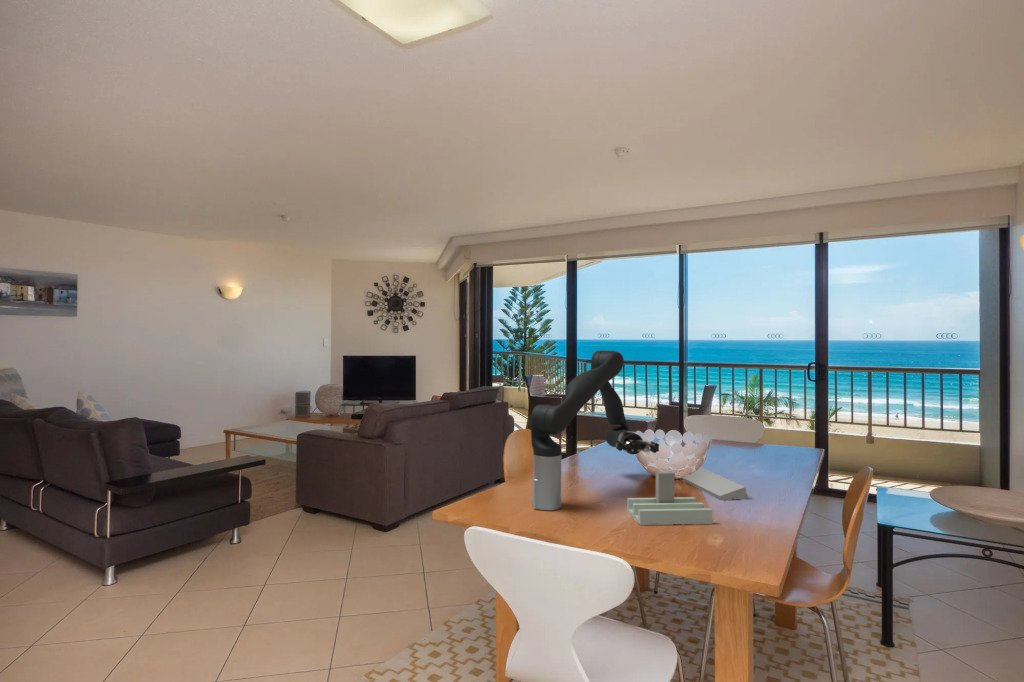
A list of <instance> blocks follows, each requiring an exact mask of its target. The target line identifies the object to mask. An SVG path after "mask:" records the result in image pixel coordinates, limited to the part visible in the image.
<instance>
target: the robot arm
mask: <svg viewBox="0 0 1024 682" xmlns="http://www.w3.org/2000/svg"><path fill="white" fill-rule="evenodd" d="M590 361H591V364H590V365H591V368H592V369H589V370H586V371H584V372H581V373H579V374H578V375H576V376H575V377H574V378H573V379H572V380H570V382H568V384H567V385H566V387H565V393H564V394H565V395H564V396H565V399H564V400H563V401H562V402H561V403H560V404H558V405H549V404H537V405H535V407H534V408H533V409H532V411H531V415H530V437H531V438H530V439H531V440H530V443H531V447H532V449H533V451H532V452H533V457H532V458H533V459H532V461H533V463H532V464H533V465H532V467H533V472H532V489H531V490H532V493H531V496H532V500H531V501H532V504H531V505H532V507H533V509H534V510H541V511H556V510H559V509H561V508H562V446H561V445H560V444H559V443H558V442H556V441H555V440H554V439H553V438H552V437H551V435H559V434H561V433H562V432H564V431H565V430H566V429H567V427H568V426H569V425H570V423H571V421H573V419H574V418H575V416H576V415H577V414H578V413H579V411H580V410H581V409H583V407H584V406H585V405H586V404H587V403H589V401H591V399H592V398H593V397H594V396H595V395H596V394H597V393H598V392H600V395H601V398H602V401H603V405H604V410H605V411H604V412H605V415H606V420H607V421H606V422H607V423H608V424H610V425H614V426H615V425H618V426H615V427H611V428H608V429H607V430H606V431H605V434H604V437H605V441H606V443H607V444H608V446H610V447H613V448H615V449H617V451H620V452H622V451H624V452H626V453H627V454H629V455H637V454H640V452H645V453H647V452H651V453H653V454H656V453H657V452H660V444H659V443H658V442H655V441H653V440H652V441H645V440H644V439H643V438H642V437H641V436H640V435H639V434H638V433H635V432H633V431H632V430H631V428H630V425H629V424H628V422H627V419H626V416H625V411H624V406H623V402H622V399H621V397H620V396H619V394H618V392H617V391H616V390H615V389H614V387H613V386H612V385H611V383H610V381H611V380H612V379H614V378H615V377H617V375H619V374H620V373H621V371H622V369H623V366H624V362H625V358H624V356H623V354H622V353H621V352H619V351H616V350H602V349H601V350H596V351H594V352H593V353H592V356H591V360H590Z"/></svg>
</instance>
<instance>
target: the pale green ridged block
mask: <svg viewBox="0 0 1024 682" xmlns="http://www.w3.org/2000/svg"><path fill="white" fill-rule="evenodd" d="M626 500H627V503H626V504H627V505H626V506H627V507H626V512H627V511H628V512H629V513H630V514H631V515H632V516H633V517H634V518H633V517H632V516H631V515H630V514H629V513H628V512H627V513H628V514H629V515H630V516H631V517H632V518H633V519H634V520H635V521H636V523H637V522H638V523H639V524H640V525H639V524H638V523H637V524H638V525H639V526H674V525H673V524H682V526H684V524H693V525H713V509H712V508H710V507H709V508H706V507H705V504H704V503H703V502H697V498H696V497H695V496H694V497H693V496H690V497H689V496H687V497H684V496H681V497H676V496H674V503H656V497H627V499H626Z"/></svg>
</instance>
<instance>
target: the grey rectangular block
mask: <svg viewBox="0 0 1024 682" xmlns="http://www.w3.org/2000/svg"><path fill="white" fill-rule="evenodd" d="M674 497H675V472H673V471H672V470H670V471H669V470H663V471H660V470H659V471H658V470H657V471H655V498H656V503H674Z"/></svg>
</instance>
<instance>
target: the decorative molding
mask: <svg viewBox="0 0 1024 682" xmlns="http://www.w3.org/2000/svg"><path fill="white" fill-rule="evenodd" d="M699 467H700V468H699V469H698V470H697V471H695V472H694V473H692V474H691V475H688V476H686V477H682V479H683V480H684V481H685V482H684V481H683V480H682V481H683V482H684V483H686V482H687V484H688V483H689V485H690V484H691V486H692V485H693V486H692V487H694V486H695V488H696V487H697V489H698V488H699V490H700V489H701V491H702V490H703V491H702V492H704V493H706V494H708V495H710V496H712V497H714V498H716V499H718V500H720V501H722V500H724V501H726V500H727V501H732V500H733V501H735V500H740V499H747V500H749V496H748V492H747V489H746V486H744V485H742V484H739V483H738V482H735V481H733V480H730V479H728V478H725V476H724V477H723V476H722V475H718V474H717V473H715V472H712V471H710V470H707V469H706V468H703V467H701V466H699Z"/></svg>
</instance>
